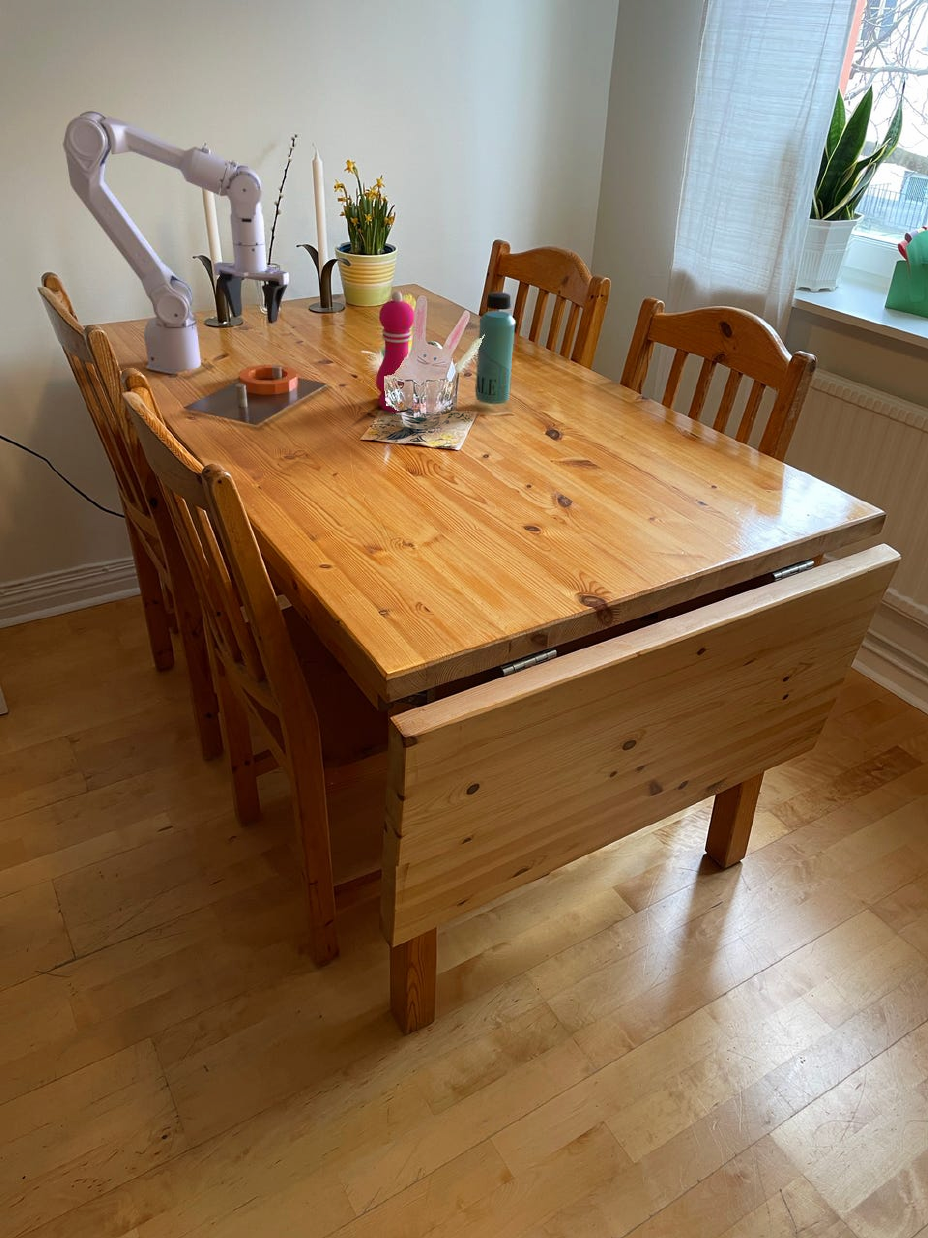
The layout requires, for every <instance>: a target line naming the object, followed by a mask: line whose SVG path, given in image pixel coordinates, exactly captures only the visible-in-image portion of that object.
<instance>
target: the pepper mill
mask: <svg viewBox="0 0 928 1238" xmlns="http://www.w3.org/2000/svg"><path fill="white" fill-rule="evenodd" d="M378 319H379V322H380V325H381V326H382V327H383V328H382V330H381V333H382V335H381V339H383V340H384V355H383V359H382V361H381V364H380V366H379V368H378V370H377V373H376V377H375V386H376V388H377V390H378V391H379V392H380V394H379V395H378V404H379V405H378V407H379V408H380V409H382V410H383V411H386V412H390V413H391V412H392V413H401V412H400V411H397V410H395V409H394V408H392V407H390V406H386V401H385V391H384V376H387V375H392V374H394V373H395V371H396V370H397V369H398V368H399V367H400V365H401V363H402V361H403V360H404V358H405V357H406V356H407V354H409V342H410V341H411V340H412V336H411V335H412V330H411V328H412V326H413V325H414V323H415V312H414V309H413V307H412V306H411V305H410V304H409V303H408V302H407V301H404V300H403V295H402V293H401V291H398V290H397V291H393V293H392V294H391V300H389V301H386V302H385V303H384V304H383V305H381V307H380V310H379V315H378Z"/></svg>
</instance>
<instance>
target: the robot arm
mask: <svg viewBox="0 0 928 1238" xmlns="http://www.w3.org/2000/svg"><path fill="white" fill-rule="evenodd" d="M62 148H63V151H64V152H65V159H66V163H67V169H68V176H69V184H70V186H71V188H72V190H73V191H74V192H75V194H76V195H77V196H78V198H79V199H80V200H81V202H82V203H83V205H84V206H85V208H87V210H88V211H89V212H90V214H91V215H92V217H93V218H94V219H95V221H96V222H97V224H99V226H100V228H101V229H102V231H104V233H105V234H106V235H107V237H108V238H109V239H110V241H111V242H112V244H113V245H114V246H115V248H116V249H117V250H118V252H119V253H120V254H121V256H122V257H123V259H124V260H125V261H126V263H127V264H128V265H129V266H130V268H131V269H132V271H133V272H134V273H135V275H136V276H137V277H138V279H139V280H140V282H141V284H142V287H143V290H144V293H145V294H146V296H147V297H148V299H149V300H150V302H151V304H152V309H153V312H154V315H155V317H152V318H150V319H149V320H148V321H147V322H146V324H145V326H144V331H143V338H144V345H145V350H146V357H147V365H146V366H145V369H146V370H150V371H154V372H159V373H164V374H168V375H174V374H176V373H179V372H187V371H188V372H189V371H193V370H197V369H199V368H200V367H201V366H202V360H201V351H200V343H199V335H198V327H197V326H198V325H197V318H196V316H194V315H193V313H192V312H191V310H190V309H191V307H192V304H193V302H194V293H193V291H192V289H191V287H190V286H189V285H188V283H186V282H185V281H184V280H181V279H180V278H179V277H177V276H176V275H175V274H174V272H173V271H172V269H171V268H170V267H168V266H167V265H165V264H164V263H163V261H162V260H161V259H160V257H159V256H158V255H157V253H156V252H155V250H154V249H153V248H152V246H151V245H150V243H149V242H148V240H146V238H145V236H144V235H143V234H142V232H141V231H140V229H139V228H138V227H137V225H136V224H135V222H134V221H133V220H132V217H130V216H129V214H128V213H127V211H126V210H125V209H124V207H123V206H122V204H121V203H120V202H119V200H118V199H117V198H116V196H115V195H114V193H113V192H112V190H111V189H110V187H109V186H108V185H107V184H106V182H105V180H104V178H105V170H106V164H107V158H108V157H109V154H110V152H111V155H118V154H124V153H130V152H132V153H136V154H138V155H140V156H143V157H145V158H149V159H150V160H153V161H156V162H158V163H161V164H164V165H165V166H169V167H171V168H174V169H177V170H179V171H180V173H181V174H182V176H183V178H184V180H185V182H187V183H190V184H192V185H195V186H196V187H199V188H201V189H203V190H205V191H208V192H210V193H213V194H214V195H215V194H216V195H218V196H220V197H225V196H226V197H227V198H228V200H229V201H230V215H229V217H230V218H229V219H230V229H231V239H232V251H233V252H232V253H233V262H223V261H219V262H216V263H214V264H213V272H214V275H215V276H219V278H217V279H216V284H217V286H218V287H219V289H220V290H221V292H222V293H223V295H224V297H225V299H226V301H227V304H228V306H229V309H230V312H231V315H232V317H233V318H235V319H237V318H239V317H240V316H242V315H243V306H242V305H243V304H242V284H243V279H247V280H253V281H259V282H260V281H261V282H267V283H265V284H262V285H261V290H262V293H263V296H264V300H265V306H266V316H267V317H266V318H267V322H268V324H272V325H273V324H274V323H276V322H278V317H279V310H280V306H281V303H282V299H283V296H284V294H285V292H286V290H287V287H288V284H290V273H289V271H283V270H279V269H276V268H273V267H271V266H267V253H266V251H267V250H266V238H265V236H266V235H265V223H264V215H263V213H262V211H263V205H262V203H261V199H262V196H263V191H262V181H261V179H260V177H259V175H258V174H257V173H256V172H255V171H254V170H253V169H251V168H250V167H249V166H248V165H243V164H242V165H238V164H239V162H238V161H236V160H234V159H232V160H231V161H229V160H227V159H225V158H222V157H220V156H217V155H215V154H213V153H212V152H211V148H209V147H207V146H205V145H203V146H202V147H201V148H199V147H198V146H193V147H191V148H188V149H187V150H185V149H182V148H180V147H178V146H176V145H175V144H172V143H170V142H168V141H166V140H163V139H162V138H159V137H157V136H156V135H153V134H151V133H149V132H147V131H145V130H143V129H141V128H139V127H137V126H135V125H133V124H131V123H129V122H126V121H124V120H120V119H118V118H116V117H113V116H105V115H104V114H102V113H101V112H98V111H94V110H88V111H84V112H83V113H81V114H80V115H79V116H77V117H74V118H73V119H71V120H70V121H69V122H68V124H67V125H66V128H65V132H64V138H63V142H62Z"/></svg>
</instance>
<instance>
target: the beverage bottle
mask: <svg viewBox="0 0 928 1238" xmlns="http://www.w3.org/2000/svg"><path fill="white" fill-rule="evenodd" d="M511 306H512V305H511V295H510V293H506V292H501V291H493V292H489V293H488V294H487V299H486V308H489V309H492V310H491V311H487V312H485V313H484V314H483V315H482V316H481V317H480V318H479V331H478V338H477V341H478V340H479V339H480V338H482V336H483V335H484V334H485V336H484V338H483V339H482V343H481V345H480V347H479V349H478V348H477V355H476V357H477V362H476V373H475V383H474V384H475V386H474V389H475V391H474V392H475V393H474V394H475V398H476V400H477V401H479V402H481V403H484V404H488V405H489V404H490V405H500V404H505V403H507V402H508V401H509V399H510V395H511V386H512V372H513V369H512V368H513V366H512V365H513V349H514V338H515V327H516V320H515V318H513V316H512V315H511V314H510V313H508V312H507V311H505V310H510V308H511ZM502 310H504V311H502Z"/></svg>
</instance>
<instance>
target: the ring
mask: <svg viewBox="0 0 928 1238" xmlns="http://www.w3.org/2000/svg"><path fill="white" fill-rule="evenodd" d="M276 365H278V366H281V372H282V379H279V380H273V381H261V380H257V379H263V378H273V372H272V367H273V366H276ZM298 378H299V377H298V371H297V370H295V369H294V368H292V367H289V366H285V365H281V364H259V365H252V366H248V367H246V368H243V369H241V370H240V371H239V373H238V380H239V384H240V383H242V384H245V385H246V392H250V393H254V394H260V395H276V394H281V393H286V392H290V391H292V390H293V389H295V388H297V385H298Z"/></svg>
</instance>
